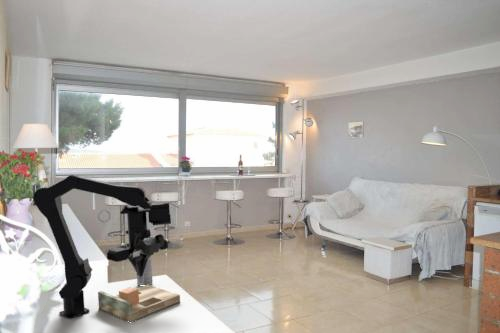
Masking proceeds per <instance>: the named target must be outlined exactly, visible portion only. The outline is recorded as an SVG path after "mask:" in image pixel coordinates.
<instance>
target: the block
mask: <svg viewBox="0 0 500 333" xmlns="http://www.w3.org/2000/svg"><path fill="white" fill-rule="evenodd" d="M118 295H119V298H121V299H123V300H126V301H128V302H131V303H132V305H134V304H136V303H138V302H139V292H138V289H136V288H135V287H131V286H129V287H126V288H124V289H123V288H122V289H121V290H118Z"/></svg>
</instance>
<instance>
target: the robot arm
mask: <svg viewBox="0 0 500 333" xmlns="http://www.w3.org/2000/svg"><path fill="white" fill-rule="evenodd" d="M74 189H75V190H78V191H79V190H80V191H84V192H87V193H88V192H89V193H92V194H97V195H102V196H105V197H109V198H113V199H116V200H117V201H119V202H122V203H124V204H125V205H124V208H123V209H122V210H121V211H120V212H119V213H120V214H121V215H124V214H127V219H126V220H127V230H125V234H126V235H128V242H127V243H126V247H127V248H122V247H115V248H112V249H109V250H108V251H107V252H106V258H107V260H108V261H109V260H110V261H112V262H116V263H117V262H118V263H119V262H123V261H127V260H128V261H129V262H130V263H131V265H132V267H133V269H134V270H135V272H136V275H137V274H138V276H139V277H141V276H143V273H144V270H145V266H146V263H147V260H148V258H149V257H150V256H151V257H152V256H153V255H154V253H158V252H159V251H162V250H167V249H168V248H169V242H168V240H167V239H165V238H164V235H163V234H162V233H160V234H156V235H152V233H151V230H150V228H149V229H148V223H149V224H152V226H163V225H164V226H165V225H171V224H172V221H171V218H172V217H171V211H170V202H167V201H166V202H162V203H152V202H151V200H150V199H149V198H148V197H147V195H146V190H145V189H144V188H143V187H142V186H140V185H139V186H138V185H126V184H114V183H110V182H105V181H101V180H97V179H92V178H87V177H84V176H80V175H78V174H71V175H68V176H66V177H65V178H63V180H61V181H59V182H57V183H54V184H53V185H48V186H47V185H46V186H45V187H41V188H39V189H37V190H36V191H34V194H33V196H32V199H33V200H32V201H33V203H34V204H35V205H36V207H37V209H38V210H39V212H40V213H41V214H42V216H44V218H45V219H46V220H47V222H48V224H49V227H50V230H51V233H52V235H53V237H54V240H55V242H56V245H57V247H58V250H59V252H60V255H61V258H62V260H63V264H64V276H65V281H66V283H64V285H63V286H62V287H61V289H60V290H59V292H58V294H59V296H60V298H61V299H62V302H63V305H62V306H63V310H60V311H59V315H60V316H63V317H64V318H66V319H69V320H70V319H72V318H75V317H78V316H80V315H81V316H82V315H83V314H86V313H89V312H90V309H89V308H87V307H85V296H84V290H83V289H84V288H85V287H87V285H88V283H89V281H90V280H91V278H92V271H93V268H92V267H91V266H90V263H89V262H90V261H89V258H85V259H83V258H82V257H81V256H80V254H79V252H78V250H77V246H76V245H75V242H74V239H73V237H72V234H71V232H70V229H69V227H68V223H67V221H66V220H65V219H66V218H65V216H64V214H63V201H62V200H63V199H62V196H64V195H65V194H68V193H69V192H70V191H72V190H74ZM130 206H131V207H130ZM140 208H141V209H140ZM147 213H148V214H147ZM147 215H148V217H147ZM147 218H148V220H147ZM147 222H148V223H147Z"/></svg>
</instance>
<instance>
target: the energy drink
mask: <svg viewBox="0 0 500 333" xmlns="http://www.w3.org/2000/svg"><path fill="white" fill-rule="evenodd" d="M136 282H137V283H136V284H137V286H139V285H150V284H151V285H152V284H153V265H152V255H151V256H150V257H149V258H148V260H147V263H146V266H145V270H144V273H143V276H141V277H139V276H138V274H137V273H136Z"/></svg>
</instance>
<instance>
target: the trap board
mask: <svg viewBox="0 0 500 333" xmlns="http://www.w3.org/2000/svg"><path fill="white" fill-rule="evenodd" d="M135 289H138V292H139V302H138V303H136V304H134V305H132V303H131V302H128V301H126V300H123V299H121V298H119V294H116V295H112V294H110V293H108V292H105V291H102V290H100V291H97V298H98V310H100V311H102V312H104V313H107V314H108V315H111V316H113V315H114V317H116V318H118V317H119V318H118V319H120V318H122V319H124V320H126V321H125V322H127V321H129V322H132V321H134V322H136V321H139V320H141V319H144V318H146V317H149V316H151V315H153V314H155V313H157V312H161V311H163V310H165V309H167V308H170V307H172V306H175V305H177V304H180V303H181V295H180V294H178V293H175V292H172V291H170V290H165V289H163V288H160V287H157V286H154V285H152V284H151V285H145V286H139V287H137V288H135ZM143 317H144V318H143ZM122 319H121V320H122ZM124 320H123V321H124ZM135 320H136V321H135ZM129 322H128V323H129ZM132 323H133V322H132Z"/></svg>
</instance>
